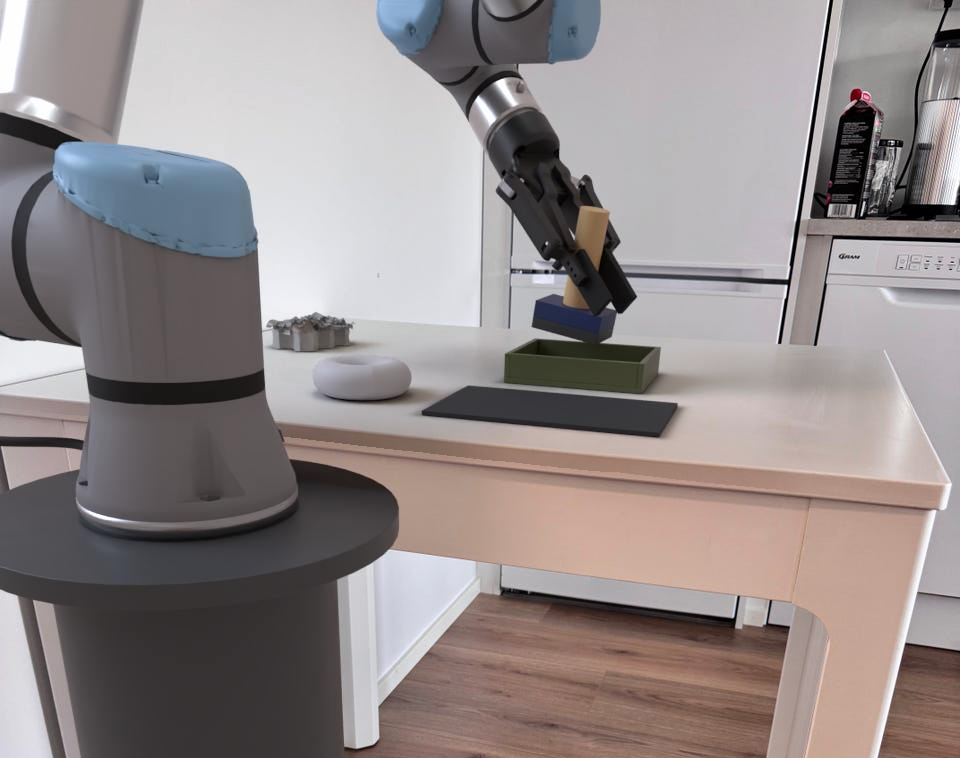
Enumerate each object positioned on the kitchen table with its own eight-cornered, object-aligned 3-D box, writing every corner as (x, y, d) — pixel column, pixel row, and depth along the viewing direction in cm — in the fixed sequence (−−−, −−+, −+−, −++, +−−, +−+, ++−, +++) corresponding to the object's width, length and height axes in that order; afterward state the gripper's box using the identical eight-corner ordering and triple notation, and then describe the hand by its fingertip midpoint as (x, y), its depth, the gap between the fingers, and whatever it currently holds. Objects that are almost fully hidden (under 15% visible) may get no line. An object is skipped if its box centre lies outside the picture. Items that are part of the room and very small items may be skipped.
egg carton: (305, 353, 119) (303, 319, 117) (262, 347, 123) (259, 314, 121) (360, 344, 127) (359, 312, 125) (318, 338, 131) (316, 307, 129)
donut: (378, 383, 103) (294, 389, 97) (378, 350, 101) (293, 354, 96) (430, 398, 96) (344, 406, 90) (431, 363, 94) (343, 369, 89)
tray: (503, 382, 104) (504, 353, 103) (533, 364, 116) (534, 338, 114) (641, 393, 100) (644, 363, 99) (658, 374, 112) (661, 346, 110)
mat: (421, 414, 88) (421, 410, 88) (467, 389, 100) (467, 385, 100) (658, 437, 82) (659, 432, 82) (677, 406, 94) (677, 402, 94)
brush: (531, 327, 107) (551, 203, 100) (548, 320, 111) (569, 199, 104) (596, 345, 104) (622, 219, 97) (611, 337, 108) (637, 215, 101)
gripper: (477, 101, 98) (584, 285, 94) (584, 112, 108) (685, 279, 104) (444, 158, 104) (543, 334, 100) (548, 164, 114) (642, 324, 110)
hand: (615, 306), depth 102 cm, fingers closed on brush, 3 cm apart
